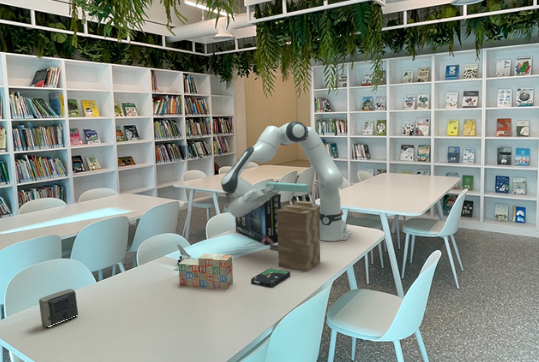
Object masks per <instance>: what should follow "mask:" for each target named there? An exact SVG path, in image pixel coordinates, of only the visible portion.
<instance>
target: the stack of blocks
mask: <svg viewBox="0 0 539 362" xmlns="http://www.w3.org/2000/svg"><path fill="white" fill-rule="evenodd" d="M197 259H198V260H191V259H184V260H183V261H182V262H180V263H179V262H178V263H179V264H177V267H178V266H179V271H178V277H179V285H180V286H190V287H197V288H198V287H199V288H209V289H221V290H228V289H230V287H232V285H233V284H234V279H233V278H234V277H233V273H234V272H233V255H230V254H229V255H228V254H220V253H218V254H217V253H203V254H201V256H199V257H197Z"/></svg>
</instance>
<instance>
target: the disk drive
mask: <svg viewBox="0 0 539 362" xmlns="http://www.w3.org/2000/svg"><path fill="white" fill-rule="evenodd" d="M290 277H291V271H289V270H284V269H276V268H272V267H270V268H267V269H266V270H264V271H262V272H260V273H259V274H257V275H255V276H253V277H252V278H250V283H251V284H250V285H255V286H260V287H264V288H270V289H273V288H275V287H277V285H279V284H280V283H283V282H284V281H285V280H287V279H289V278H290Z"/></svg>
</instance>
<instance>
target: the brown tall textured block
mask: <svg viewBox="0 0 539 362" xmlns="http://www.w3.org/2000/svg"><path fill="white" fill-rule="evenodd" d="M276 212H277V225H278V251H277V257H278V258H277V259H278V268H284V269H290V270H295V271H299V272H300V271H301V272H308V271H310V270H312V268H315V266H317V265H318V264H320V263H321V240H320V216H319V213H320V206H314V201H312V202H311V201H302V200H297V201H294V202H293V203H291V204H285V205H284V206H283V207H281V209H279V210H276Z"/></svg>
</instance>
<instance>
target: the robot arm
mask: <svg viewBox="0 0 539 362" xmlns="http://www.w3.org/2000/svg"><path fill="white" fill-rule="evenodd" d="M296 143H298V144H299V145H300V147H301V149H302V150H303V152H304V154H305V156H306V157H307V160H308V163H310V165H311V167H312V169H313V170H314V172H315V173H316V174H317V186H318V194H319V195H318V196H319V207H320V209H319V216H320V241H323V242H324V241H325V242H337V241H347V240H348V239H349V238H350V236H351V234H352V231H350V230H348V226H347V223H346V222H345V221H344V220H343V216H344V211H341V197H340V190H339V189H340V188H341V187H342V185H343V183H344V177H343V175H342V173H341V171H340V169H339V168H338V165H336V163H335V162H334V159H333V158H332V157H331V155H330V154H329V151H328V150H327V148H326V146H325V144H324V143H323V141H322V139H321V137H320V135H319V134H318V133H317V131H316V130H315V129H314V128H313V127H312V126H306V125H305V124H304V123H302V122H300V121H295V120H294V121H290V122H286V123H285V124H283V125H280V126H279V127H277V126H276V125H275V126H274V125H268V126H267V127H266V128H265V129H264V130H263V131H262V133H261V135H260V136H259V138H258V139H257V142H256V143H255V144H254V145H253V146H251V147H250V146H249V147H247V148H246V150H244V151H243V153H242V154H241V155H240V156H239V157H238V159H237V160H236V162H235V163H234V165H233V166H232V167H231V169H230V170H229V171H228V172H227V173H226V174H225V175H224V176H223V177H222V179H221V189H222V191H223V192H224V193H227V194H229V195H231V196H233V198H235V200H234V199H233V201H232V202H231V203H230V204H229V205H228V207H227V209H228V211H229V213H230V214H231V216H233V217H234V218H236V217H242V216H244V215H246V214H248V213H249V212H250V211H251V210H254V209H256V208H258V207H259V206H261V205H263V204H264V203H265V202H267V201H268V200H270V198H271V197H272V196H274V195H275V194H279V192H280V191H278V190H272V189H274V188H275V186H274V185H270V186H269V187H266V186H264V187H261V188H258V189H256V188H257V187H255V186H254V185H253V184H252V183H250V182H248V181H247V180H245V179H244V178H243V177H241V174H242V173H243V171H244V170H245V168H246V167H247V165H248V164H249V163H251V162H253V161H254V162H259V163H267V162H271V160H272V159H273V158H274V157H275V155H276V153H277V151H278V149H279V147H280V145H282V146H289V145H294V144H296Z"/></svg>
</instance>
